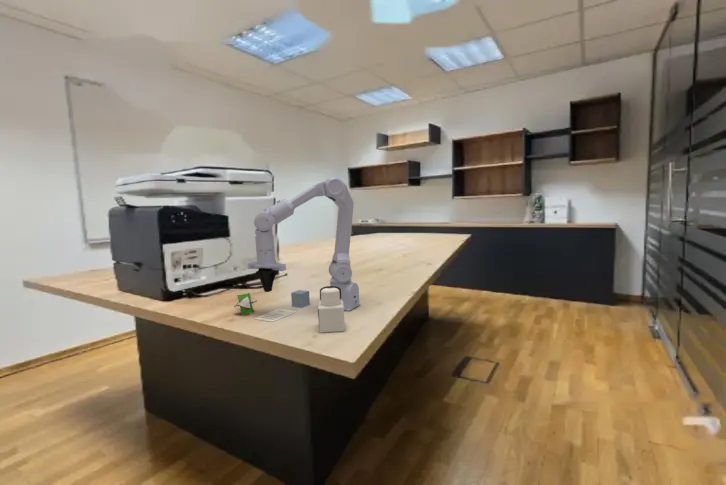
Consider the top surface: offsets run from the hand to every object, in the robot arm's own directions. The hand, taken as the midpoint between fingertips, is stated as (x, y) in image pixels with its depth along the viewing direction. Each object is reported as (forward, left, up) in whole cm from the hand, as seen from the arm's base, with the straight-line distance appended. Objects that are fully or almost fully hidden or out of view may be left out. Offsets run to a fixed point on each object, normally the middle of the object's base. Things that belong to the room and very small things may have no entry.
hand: (268, 291), depth 120 cm
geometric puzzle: (+9, +2, -8) cm, 12 cm away
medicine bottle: (-26, +3, -8) cm, 28 cm away
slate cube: (-3, -13, -8) cm, 15 cm away
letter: (-2, 0, -8) cm, 8 cm away
